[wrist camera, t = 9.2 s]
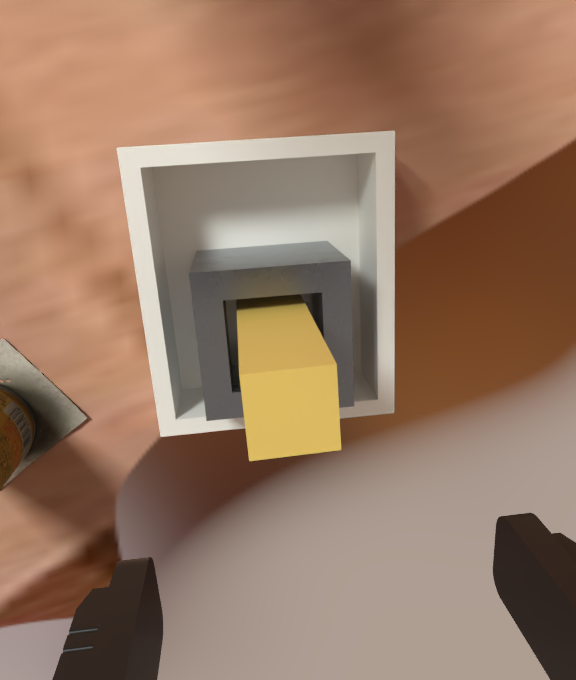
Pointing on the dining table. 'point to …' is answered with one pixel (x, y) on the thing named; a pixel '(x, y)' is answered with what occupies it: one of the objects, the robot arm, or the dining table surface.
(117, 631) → the robot arm
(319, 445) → the plug
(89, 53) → the dining table surface
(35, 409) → the condiment
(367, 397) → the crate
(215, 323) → the socket
